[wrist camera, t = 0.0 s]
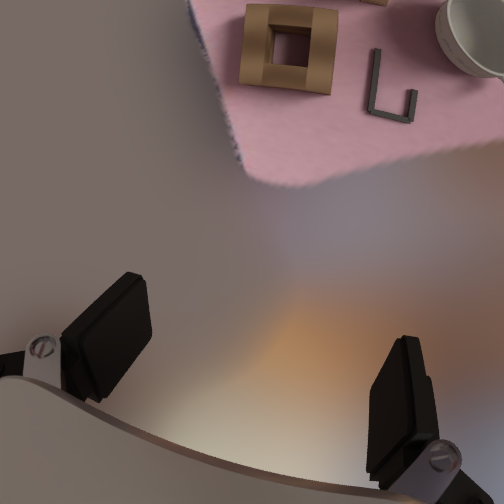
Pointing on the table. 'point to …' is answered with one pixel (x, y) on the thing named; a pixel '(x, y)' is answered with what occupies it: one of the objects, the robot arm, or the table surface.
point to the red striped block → (377, 2)
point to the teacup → (473, 36)
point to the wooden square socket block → (295, 22)
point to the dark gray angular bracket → (374, 89)
